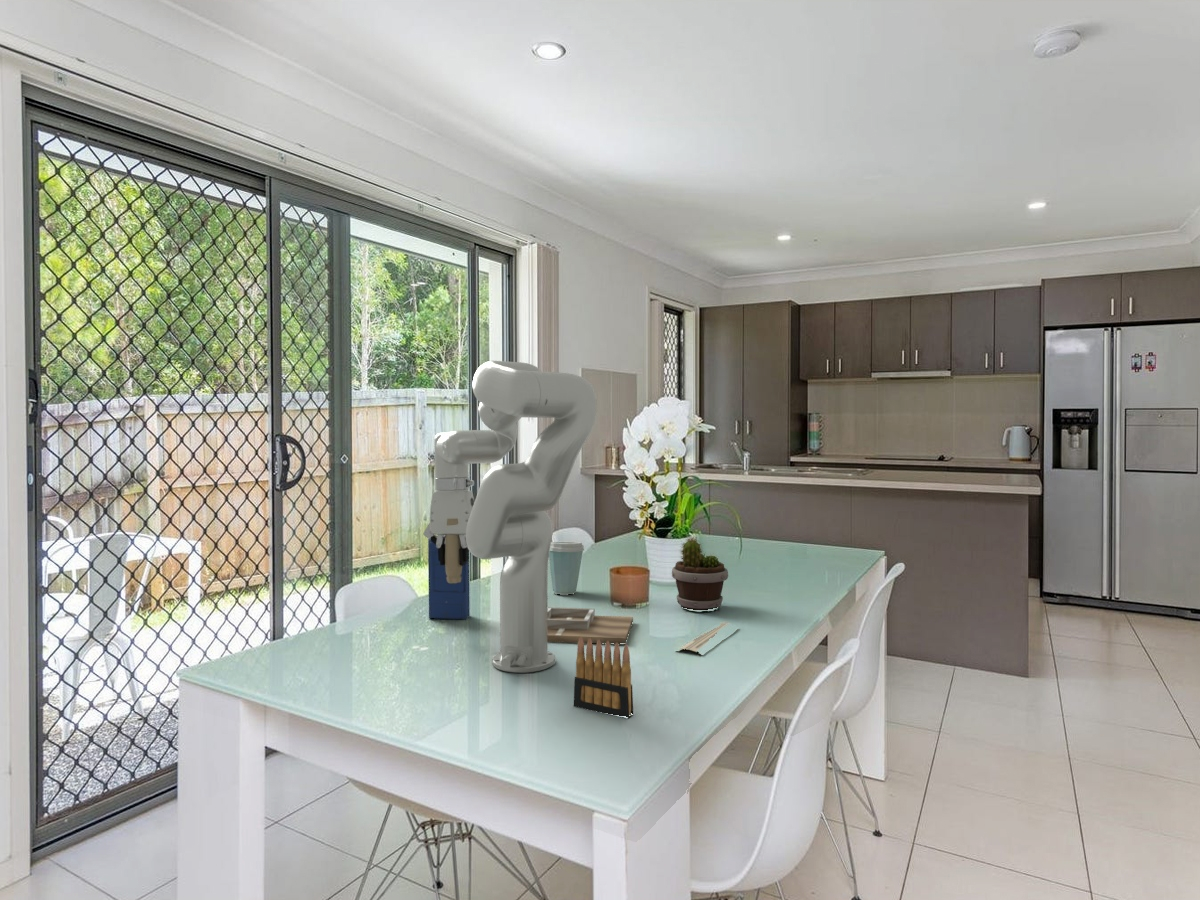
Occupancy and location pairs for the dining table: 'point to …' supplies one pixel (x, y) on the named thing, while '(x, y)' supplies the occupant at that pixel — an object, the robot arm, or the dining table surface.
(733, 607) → the dining table surface
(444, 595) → the electronic device
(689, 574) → the flowerpot
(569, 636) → the board
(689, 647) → the beige flat strip
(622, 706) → the ammunition clip
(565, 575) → the disposable coffee cup
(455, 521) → the handle
